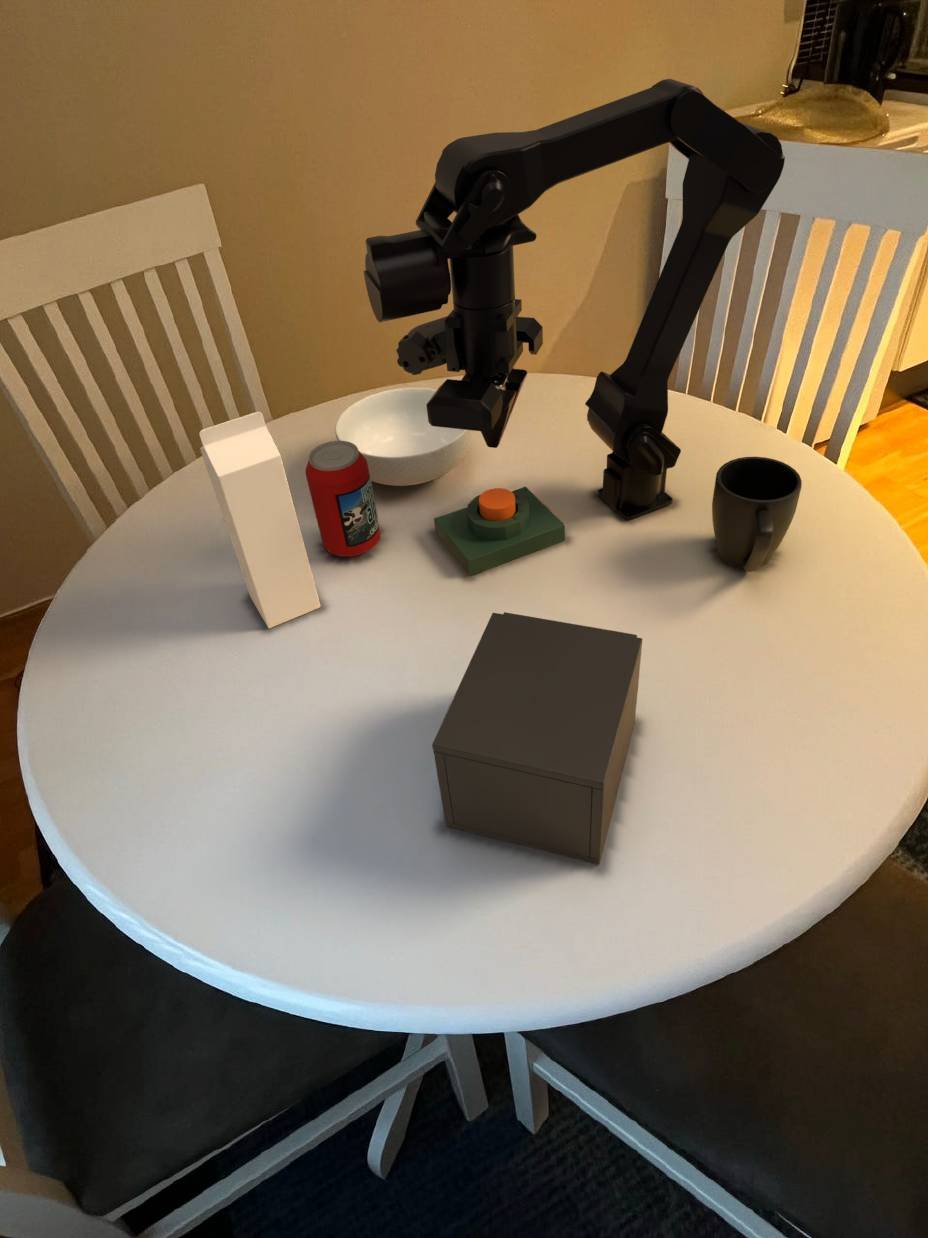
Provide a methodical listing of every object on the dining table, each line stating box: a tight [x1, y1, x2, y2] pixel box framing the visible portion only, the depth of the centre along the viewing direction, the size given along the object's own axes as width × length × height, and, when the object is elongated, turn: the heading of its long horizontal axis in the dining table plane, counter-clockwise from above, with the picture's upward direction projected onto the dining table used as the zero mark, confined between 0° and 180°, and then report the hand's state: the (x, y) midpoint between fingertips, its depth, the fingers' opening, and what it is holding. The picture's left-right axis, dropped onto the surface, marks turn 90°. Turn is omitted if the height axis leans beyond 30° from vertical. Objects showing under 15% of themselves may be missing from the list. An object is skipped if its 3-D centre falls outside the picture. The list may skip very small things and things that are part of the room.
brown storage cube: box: [432, 612, 643, 866], centre depth 67 cm, size 15×13×11 cm
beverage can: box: [304, 440, 381, 557], centre depth 92 cm, size 7×7×12 cm
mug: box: [711, 456, 803, 573], centre depth 85 cm, size 8×12×10 cm
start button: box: [479, 487, 516, 521], centre depth 92 cm, size 4×4×2 cm
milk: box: [198, 411, 322, 629], centre depth 82 cm, size 6×6×22 cm
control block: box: [433, 486, 566, 577], centre depth 94 cm, size 12×9×4 cm
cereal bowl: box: [334, 387, 473, 487], centre depth 105 cm, size 17×17×7 cm
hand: (493, 445), depth 87 cm, fingers closed
